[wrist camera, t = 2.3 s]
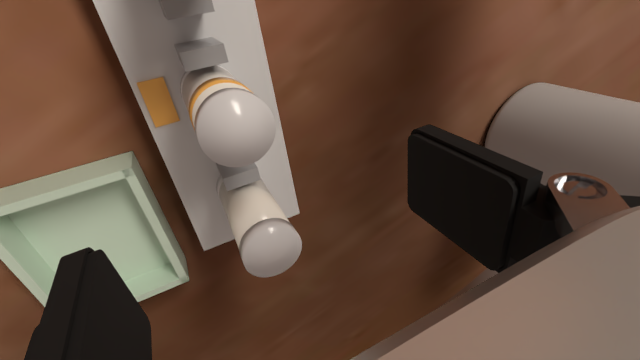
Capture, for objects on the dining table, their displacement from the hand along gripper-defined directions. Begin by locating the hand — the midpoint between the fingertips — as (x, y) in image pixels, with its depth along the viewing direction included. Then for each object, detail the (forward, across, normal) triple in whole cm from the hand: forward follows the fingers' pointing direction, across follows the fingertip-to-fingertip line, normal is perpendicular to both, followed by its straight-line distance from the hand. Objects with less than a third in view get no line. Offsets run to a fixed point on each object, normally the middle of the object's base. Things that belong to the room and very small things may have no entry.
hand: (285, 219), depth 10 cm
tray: (+18, +10, +9) cm, 23 cm away
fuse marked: (+16, 0, 0) cm, 16 cm away
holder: (+18, 0, 0) cm, 18 cm away
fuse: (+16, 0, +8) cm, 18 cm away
